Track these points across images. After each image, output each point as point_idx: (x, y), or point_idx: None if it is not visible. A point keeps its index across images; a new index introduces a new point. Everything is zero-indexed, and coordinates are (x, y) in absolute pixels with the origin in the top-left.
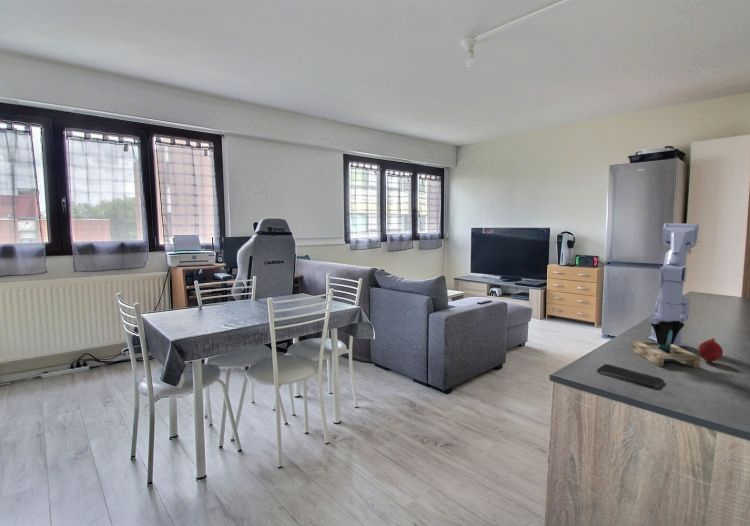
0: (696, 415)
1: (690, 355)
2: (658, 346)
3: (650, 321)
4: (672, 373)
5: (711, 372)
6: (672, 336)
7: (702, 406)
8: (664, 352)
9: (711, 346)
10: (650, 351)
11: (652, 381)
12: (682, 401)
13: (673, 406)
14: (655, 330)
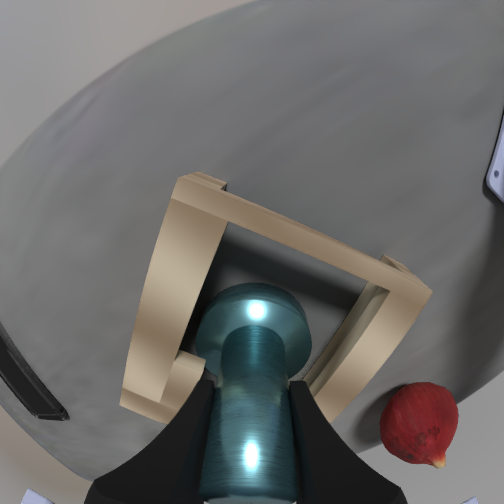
0: (54, 454)
1: None
2: (224, 359)
3: (30, 501)
4: (135, 412)
5: None
6: (295, 452)
7: (78, 459)
8: (180, 401)
9: (400, 458)
10: (128, 359)
11: (39, 406)
12: (57, 443)
13: (37, 437)
14: (147, 454)
